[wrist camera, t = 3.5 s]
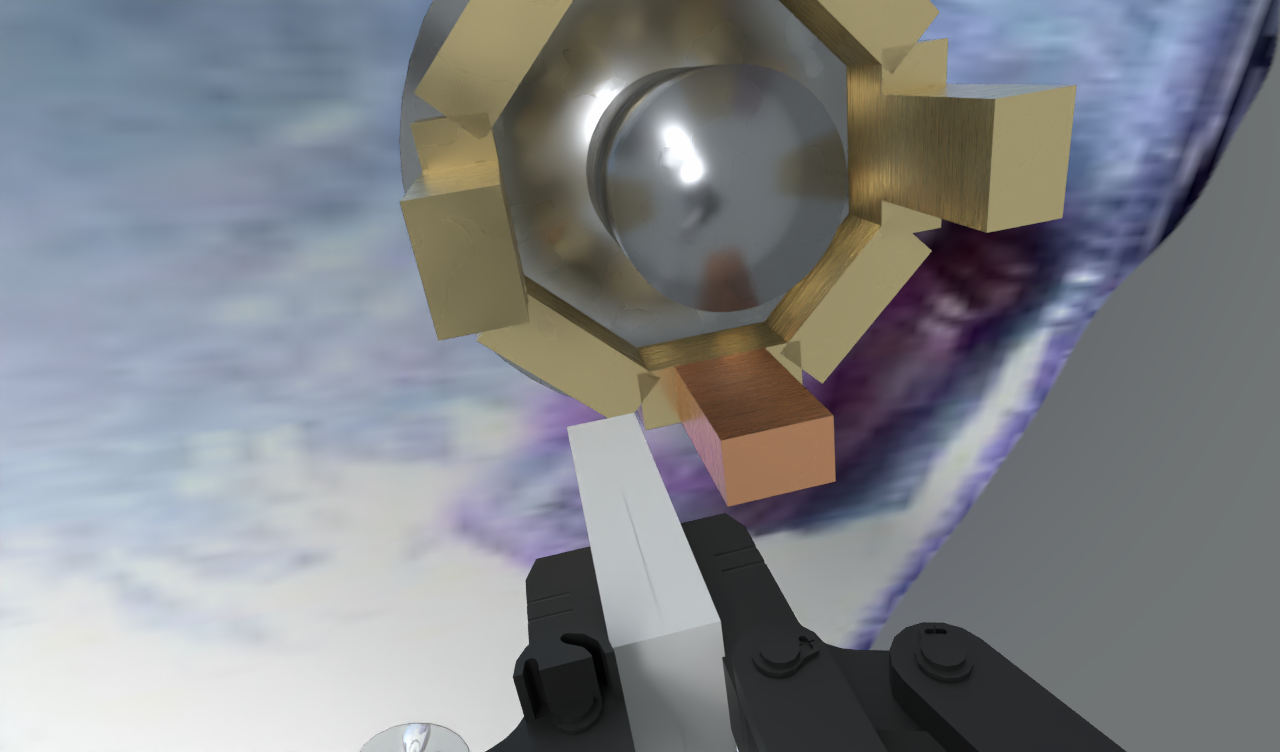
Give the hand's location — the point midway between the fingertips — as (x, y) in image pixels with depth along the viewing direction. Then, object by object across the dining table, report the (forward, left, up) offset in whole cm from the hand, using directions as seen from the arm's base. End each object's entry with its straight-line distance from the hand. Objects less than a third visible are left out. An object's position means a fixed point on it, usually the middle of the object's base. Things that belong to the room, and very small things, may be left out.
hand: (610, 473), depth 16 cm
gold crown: (-5, +4, -9) cm, 11 cm away
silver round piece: (-5, +4, -11) cm, 12 cm away
